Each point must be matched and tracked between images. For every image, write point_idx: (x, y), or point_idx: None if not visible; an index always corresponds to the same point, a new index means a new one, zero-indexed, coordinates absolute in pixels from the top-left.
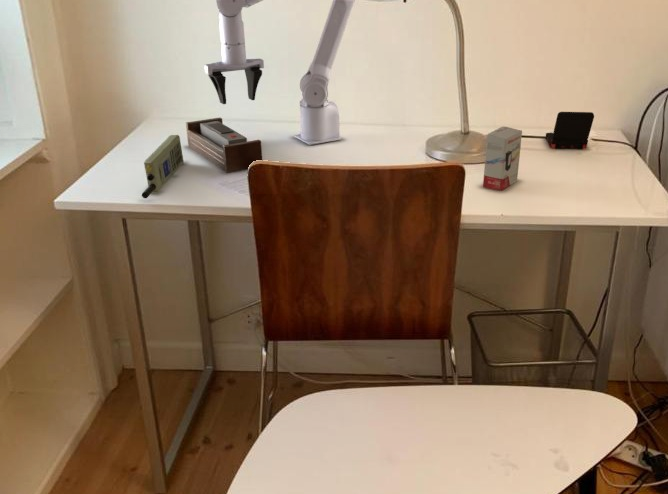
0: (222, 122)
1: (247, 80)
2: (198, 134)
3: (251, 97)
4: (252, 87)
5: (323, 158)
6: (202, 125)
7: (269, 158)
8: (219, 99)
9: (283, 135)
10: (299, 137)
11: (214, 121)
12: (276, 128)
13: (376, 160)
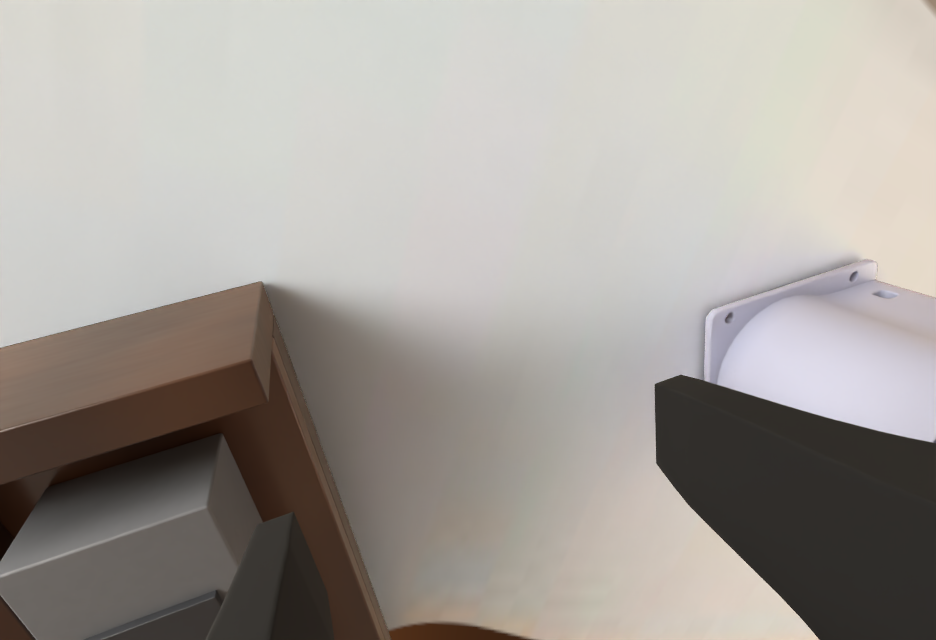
0: (269, 382)
1: (885, 516)
2: (1, 627)
3: (675, 466)
4: (786, 588)
5: (667, 600)
6: (24, 620)
7: (470, 599)
8: (245, 558)
9: (673, 249)
10: (715, 358)
11: (169, 523)
12: (704, 71)
13: (795, 617)
